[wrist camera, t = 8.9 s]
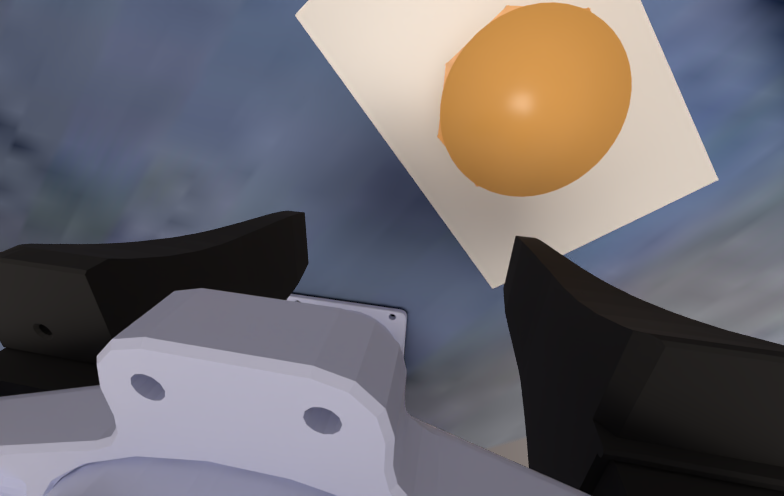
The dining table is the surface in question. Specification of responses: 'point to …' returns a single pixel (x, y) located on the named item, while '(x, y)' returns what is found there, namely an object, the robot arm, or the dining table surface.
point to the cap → (535, 99)
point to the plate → (432, 161)
